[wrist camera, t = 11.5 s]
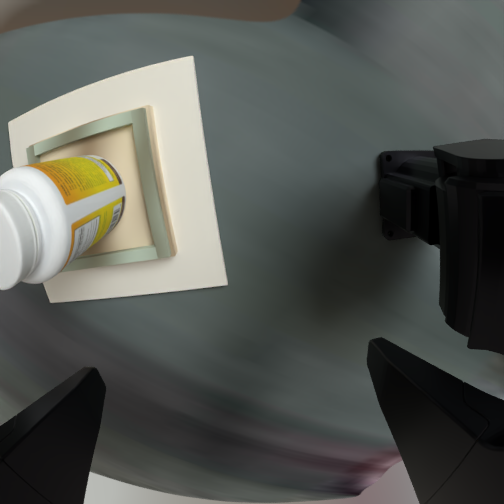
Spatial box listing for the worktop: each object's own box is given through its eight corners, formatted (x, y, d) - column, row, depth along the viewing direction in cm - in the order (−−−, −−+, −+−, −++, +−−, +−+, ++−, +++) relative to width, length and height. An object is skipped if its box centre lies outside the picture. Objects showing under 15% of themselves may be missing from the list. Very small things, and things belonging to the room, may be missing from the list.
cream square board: (193, 57, 16) (192, 55, 16) (227, 281, 22) (227, 284, 21) (11, 122, 17) (8, 122, 16) (53, 300, 22) (50, 302, 22)
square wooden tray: (152, 106, 17) (145, 103, 16) (177, 251, 20) (173, 259, 19) (36, 145, 17) (23, 146, 16) (63, 267, 21) (53, 275, 19)
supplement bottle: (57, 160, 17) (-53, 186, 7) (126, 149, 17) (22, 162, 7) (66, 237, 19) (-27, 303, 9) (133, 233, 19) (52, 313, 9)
